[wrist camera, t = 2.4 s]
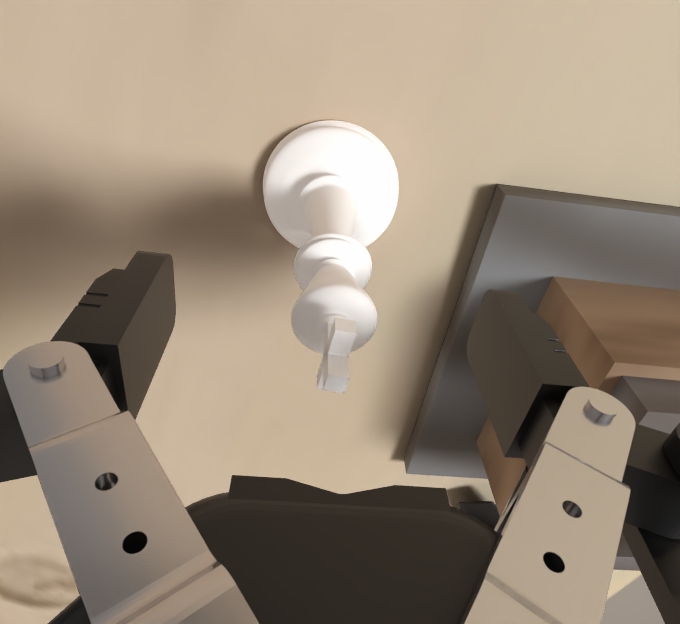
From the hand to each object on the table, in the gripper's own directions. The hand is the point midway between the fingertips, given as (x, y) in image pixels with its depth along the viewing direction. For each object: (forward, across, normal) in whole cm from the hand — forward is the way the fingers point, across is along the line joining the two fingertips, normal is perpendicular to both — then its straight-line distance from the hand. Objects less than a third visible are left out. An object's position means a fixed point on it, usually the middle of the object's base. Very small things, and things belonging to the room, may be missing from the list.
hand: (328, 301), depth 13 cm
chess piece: (+7, 0, 0) cm, 7 cm away
